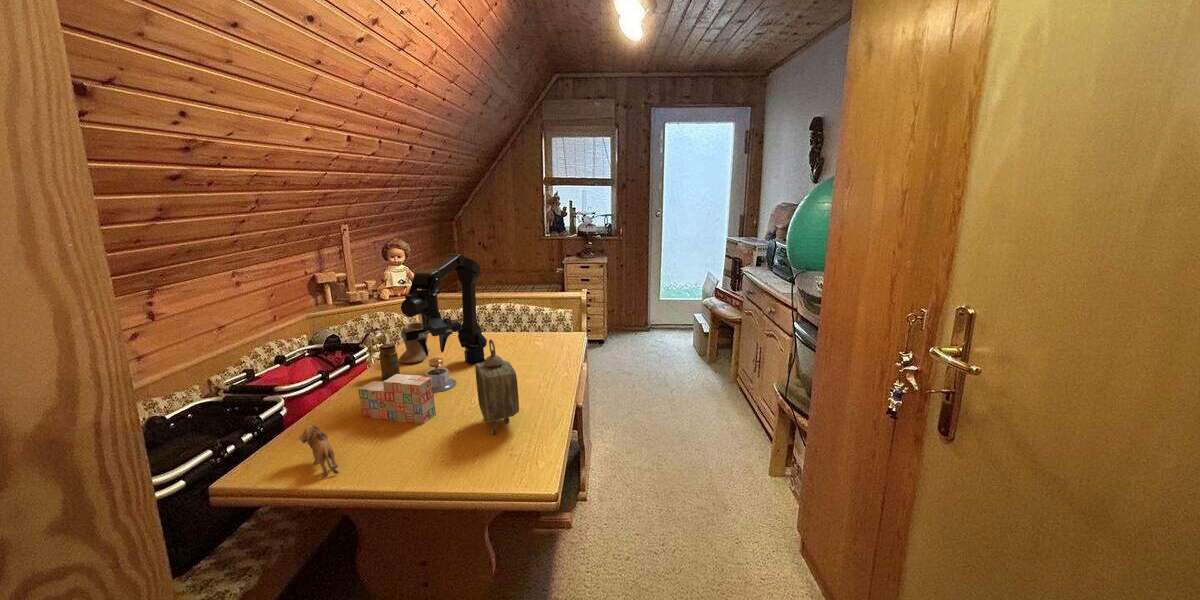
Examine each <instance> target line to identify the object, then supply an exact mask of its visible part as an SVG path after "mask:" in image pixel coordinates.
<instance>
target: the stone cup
mask: <svg viewBox="0 0 1200 600" xmlns="http://www.w3.org/2000/svg"><path fill="white" fill-rule="evenodd" d="M421 324H422V321H412V322H409V323H406V324H405V325H404V326H403V329H408V328H415V329H416V330H418V329H423V327H422V326H421ZM429 334H430V333H427V334H424V337H425V338H426V343H427V341H428V337H429ZM402 339H403V338H402ZM403 343H404V345H405V349H406V350H405V351H404V352H403V353H402V354H401V356H400V357H398V362H399V363H404V364H406V363H407V364H412V363H419V362H422V361H423V360H425V358H426V357H427V356H426V354H425V353H424V351H423V349H422V347H421V345H420V344H419V342H418V341H416V340H411V341H406V340H404V339H403ZM427 350H428V354H429V353H430V351H431V349H429V348H428V347H427Z"/></svg>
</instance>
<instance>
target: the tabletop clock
mask: <svg viewBox="0 0 1200 600" xmlns="http://www.w3.org/2000/svg"><path fill="white" fill-rule="evenodd" d="M488 345H489V352H490V355H489V356H487V357H486V358H485V359H486V360H485V362H481V363H477V364H474V368H475V369H474V370H475V380H476V390H477V391H476V392H477V398H478V405H479V409H480V412H481V414H482V417H483V420H484V422H485V423H489V422H492V421H493V428H491V429H490V434H492V435H496V434H497V432H498V430H497V424H498V422H499V420H503V422H504V423H509V422H510V417H511V418H512V417H514V416H516V415H517V414H518V413H519V411H520V401H519V398H520V397H519V388H518V387H519V386H518V378H517V377H518V376H517V374H516V373H517V372H516V370H515V368H514V367H513V365H512V364H511V363H510V362H509V361H507V360H504V359H502V357H501V356H499V355H497V354H496V353H497V352H496V345H495V342H494V340H493V339H491V338H490V339H489V340H488Z"/></svg>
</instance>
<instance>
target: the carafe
mask: <svg viewBox="0 0 1200 600" xmlns="http://www.w3.org/2000/svg"><path fill="white" fill-rule="evenodd" d="M423 376H424V377H432V384H433V389H439V388H444V387H446V386H448V385H449V384H450V378H451V377H450V370H449V369H448V368H446V367H438V375H436V370H435V368H432V369H428V370H427V371H425V373H424V374H423Z"/></svg>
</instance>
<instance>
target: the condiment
mask: <svg viewBox="0 0 1200 600" xmlns="http://www.w3.org/2000/svg"><path fill="white" fill-rule="evenodd" d="M378 349H379V354H378V357H379V365H380V371H381V375H377V377H378V378H379V379H380V380H381V382H383V381H385V380H387V379H389V378H390V377H392V376H394V375H395V374H399V373H401V372H400V364H399V363H400V362H399V356H398V351H397V349H396V345H395V343H383V344H381V345H380V346H379V348H378Z"/></svg>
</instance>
